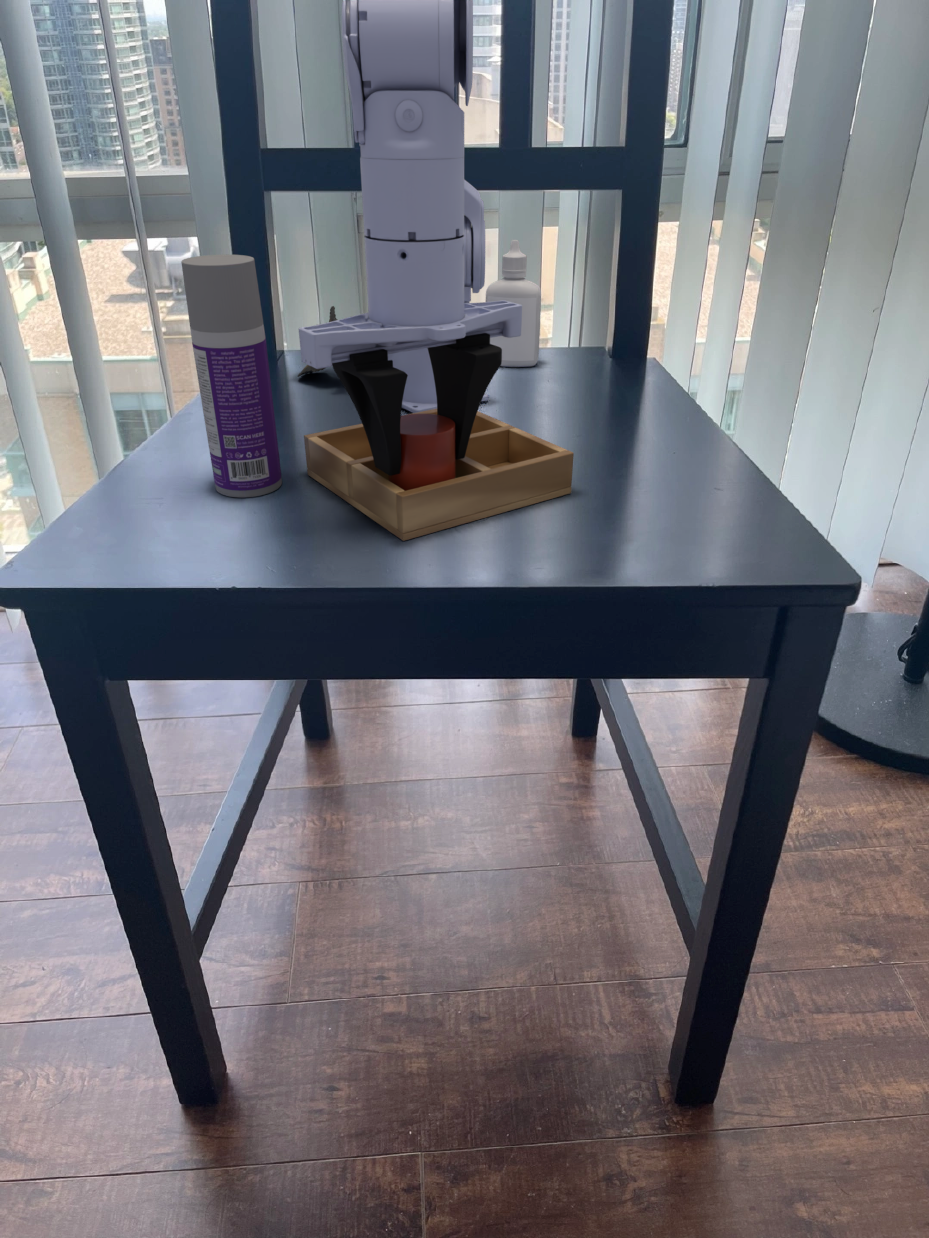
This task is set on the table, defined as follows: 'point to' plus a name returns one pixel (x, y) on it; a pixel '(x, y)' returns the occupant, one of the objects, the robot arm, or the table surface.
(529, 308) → the eye dropper bottle
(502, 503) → the grid
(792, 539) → the table surface
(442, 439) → the red cylinder
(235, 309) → the container
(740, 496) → the table surface
